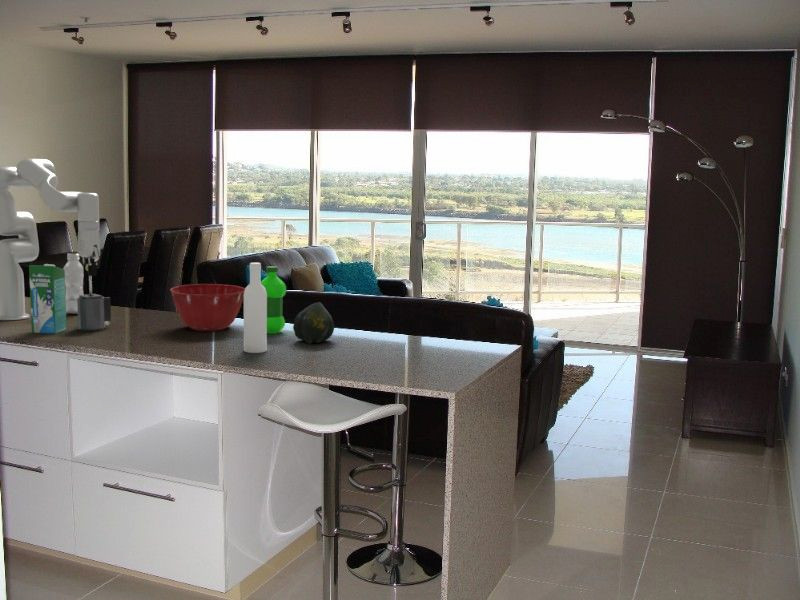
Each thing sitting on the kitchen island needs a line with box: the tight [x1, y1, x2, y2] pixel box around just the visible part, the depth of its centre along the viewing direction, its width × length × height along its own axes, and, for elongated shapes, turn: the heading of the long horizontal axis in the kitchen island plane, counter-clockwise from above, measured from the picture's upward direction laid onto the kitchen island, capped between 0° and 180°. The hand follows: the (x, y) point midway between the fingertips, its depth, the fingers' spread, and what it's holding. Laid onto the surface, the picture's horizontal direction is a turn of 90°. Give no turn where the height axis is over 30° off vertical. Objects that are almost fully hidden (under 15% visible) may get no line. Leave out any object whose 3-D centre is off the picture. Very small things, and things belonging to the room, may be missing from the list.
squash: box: [292, 301, 335, 345], centre depth 315 cm, size 14×15×15 cm
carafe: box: [77, 293, 112, 332], centre depth 330 cm, size 9×12×13 cm
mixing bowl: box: [169, 283, 246, 332], centre depth 336 cm, size 28×28×16 cm
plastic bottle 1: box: [63, 253, 85, 315], centre depth 361 cm, size 8×8×25 cm
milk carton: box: [28, 263, 67, 335], centre depth 322 cm, size 9×9×25 cm
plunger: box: [85, 263, 93, 296], centre depth 327 cm, size 6×6×16 cm
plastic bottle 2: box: [261, 265, 287, 335], centre depth 330 cm, size 10×10×25 cm
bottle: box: [243, 262, 268, 354], centre depth 294 cm, size 8×8×30 cm
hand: (90, 274), depth 327 cm, fingers closed on plunger, 3 cm apart
